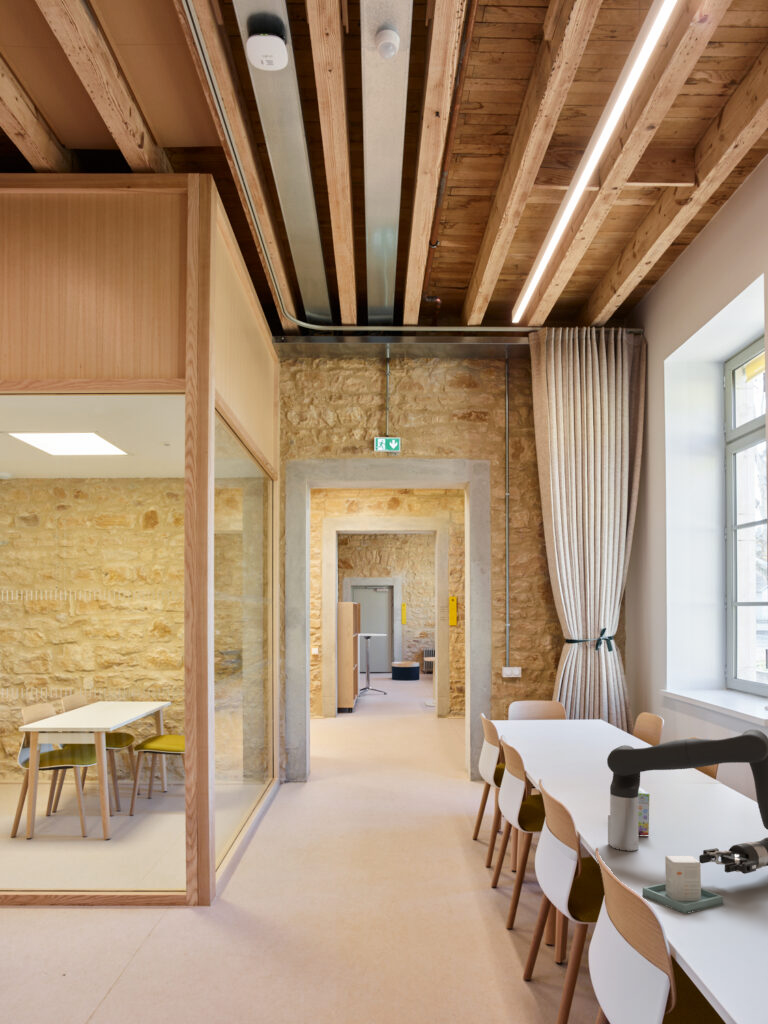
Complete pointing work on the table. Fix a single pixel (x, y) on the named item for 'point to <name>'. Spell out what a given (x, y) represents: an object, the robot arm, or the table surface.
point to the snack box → (643, 812)
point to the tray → (660, 896)
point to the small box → (683, 878)
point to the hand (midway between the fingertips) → (712, 863)
